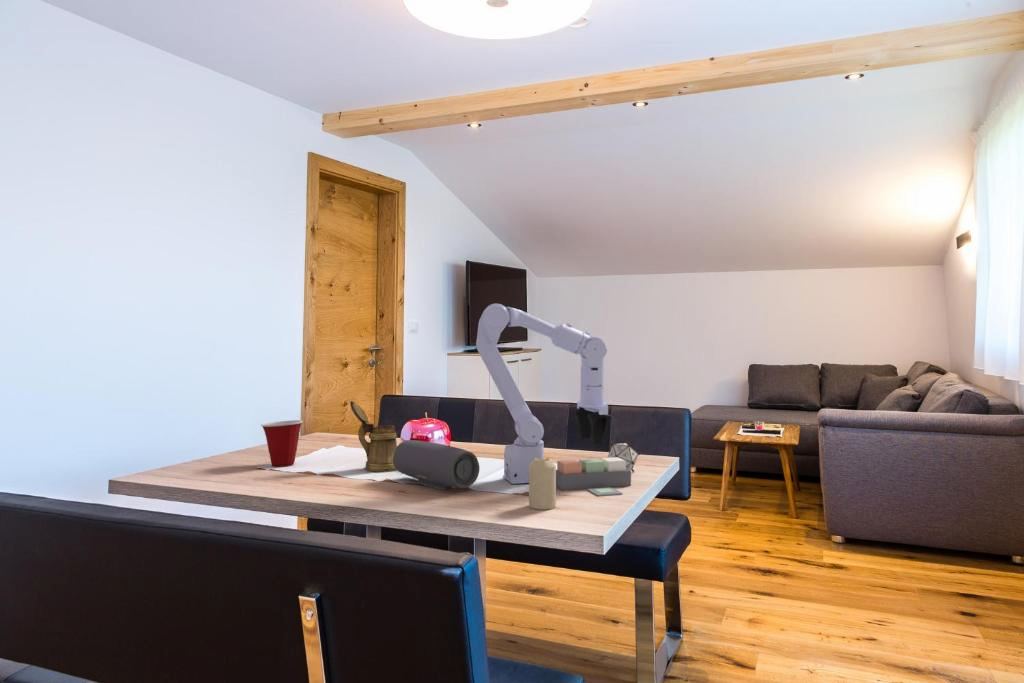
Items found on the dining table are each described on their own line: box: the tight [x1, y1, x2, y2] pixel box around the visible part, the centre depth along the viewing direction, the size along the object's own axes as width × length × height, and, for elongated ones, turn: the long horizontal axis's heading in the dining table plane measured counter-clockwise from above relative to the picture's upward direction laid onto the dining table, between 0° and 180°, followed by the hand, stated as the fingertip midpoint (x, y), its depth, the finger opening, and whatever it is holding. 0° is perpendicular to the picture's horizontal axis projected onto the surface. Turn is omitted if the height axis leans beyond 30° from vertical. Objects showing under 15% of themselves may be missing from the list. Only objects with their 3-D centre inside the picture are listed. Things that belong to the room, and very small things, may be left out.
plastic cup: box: [260, 419, 304, 468], centre depth 183 cm, size 11×11×12 cm
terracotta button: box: [556, 459, 582, 474], centre depth 157 cm, size 4×4×3 cm
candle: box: [528, 457, 557, 511], centre depth 139 cm, size 6×6×10 cm
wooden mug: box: [349, 400, 398, 473], centre depth 178 cm, size 9×14×18 cm, turn 84°
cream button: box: [600, 457, 626, 472], centre depth 160 cm, size 4×4×3 cm
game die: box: [606, 439, 642, 473], centre depth 173 cm, size 9×8×10 cm
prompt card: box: [586, 487, 623, 497], centre depth 151 cm, size 6×6×1 cm
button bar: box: [556, 469, 632, 491], centre depth 158 cm, size 17×6×4 cm, turn 106°
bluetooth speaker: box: [393, 439, 480, 490], centre depth 159 cm, size 23×9×10 cm, turn 44°
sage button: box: [578, 457, 604, 473], centre depth 158 cm, size 4×4×3 cm
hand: (591, 440), depth 165 cm, fingers open, 7 cm apart
